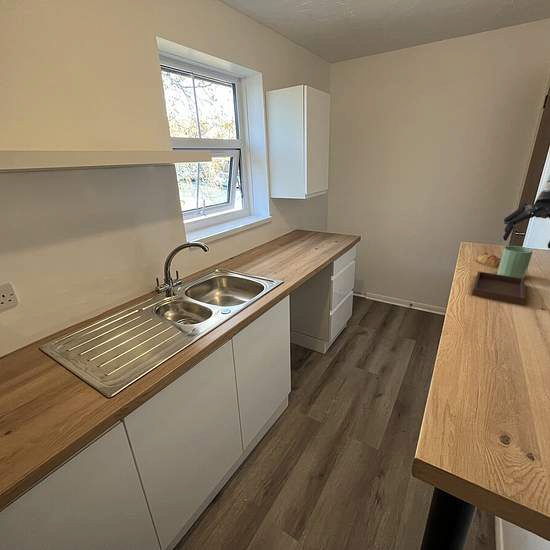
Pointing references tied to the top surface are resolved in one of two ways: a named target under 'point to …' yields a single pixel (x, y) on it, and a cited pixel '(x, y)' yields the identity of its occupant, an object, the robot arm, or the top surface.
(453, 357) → the top surface
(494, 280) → the tray
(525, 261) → the cup
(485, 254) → the pastry
